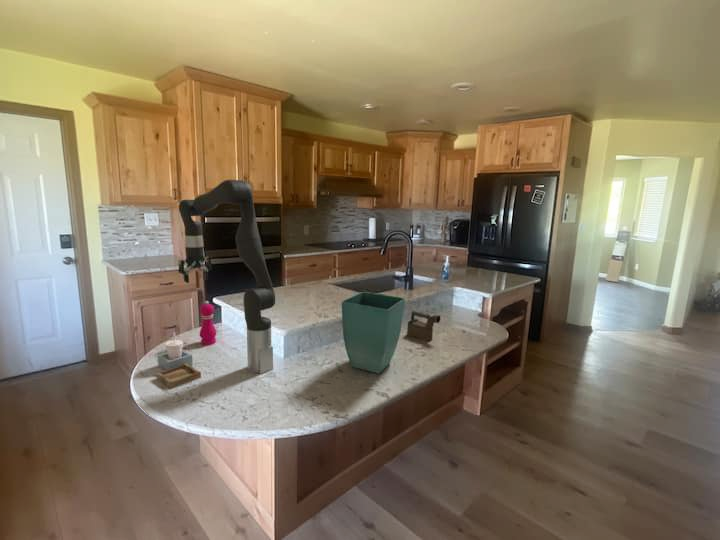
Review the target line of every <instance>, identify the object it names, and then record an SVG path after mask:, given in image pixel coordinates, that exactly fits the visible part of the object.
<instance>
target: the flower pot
mask: <svg viewBox="0 0 720 540" xmlns="http://www.w3.org/2000/svg"><path fill="white" fill-rule="evenodd" d="M405 302H406V298H405V297H400V296H394V295H387V294H380V293H377V292H376V293H374V292H368V291H361V292H358V293H357V294H355V295H352V296H350V297H347V298H346V299H344V300H342V301H341V320H342V336H343V342H344V347H345V351H346V354H347V358H348V360H349V362H350V365H351V367H353V368H356V369H360V370H364V371H367V372H370V373H371V372H372V373H375V374H380V373H381V372H382V371H383V370H384V369H386V367H387V366H388V365H389V364H390V363H391V361H392V358H393V356H394V353H395V352H396V349H397V346H398V342H399V339H400V336H401V335H400V333H401V330H402V324H403V323H402V322H403V316H404V307H405Z"/></svg>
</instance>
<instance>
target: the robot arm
mask: <svg viewBox="0 0 720 540" xmlns="http://www.w3.org/2000/svg"><path fill="white" fill-rule="evenodd" d="M222 204H227V205H228V204H229V205H239V208H240V223H239V224H238V228H237V231H236V234H235V246H236V249H237V254H238V257H239V258H240V259H241V261H242V262H243V264H244V265H245V266H246V267H247V268H248V269H249V270H250V272H251V273H252V274H253V276H254V279H255V281H256V285H257V286H256V287H252V288H248V289H246V290H245V292H244V294H243V309H244V310H243V311H244V313H243V314H244V320H245V324H246V348H247V349H246V350H247V351H246V353H247V370H248V371H249V372H250V373H253V374H261V375H262V374H264V373H266V372H269V371H271V370H273V369H274V347H273V346H272V320H271V319H270V318H269V317H266V316H262V311H264V310H268V309H272V308H273V307H274V306H275V304H276V294H275V290H274V286H273V283H272V281H271V277H270V274H269V271H268V267H267V263H266V259H265V255H264V251H263V244H262V241H261V237H260V233H259V228H258V223H257V217H256V211H255V203H254V194H253V190H252V187H251V185H250V183H249V182H248V181H246V180H241V179H226V180H223V181H222V182H221V183H219V184H218V185H216V186H215V187H214V188H212V189H211V190H210V191H208V192H206V193H204V194H201V195H198V196H196V197H195V198H194V199H182V200H181V201H180V202H179V204H178V211H179V214H180V217H181V220H182V223H183V226H184V249H185V250H184V251H185V259H179V260H178V273H179V274H182V275H183V281H184V282H185V283H187V284H188V283H190V278H189V276H190V275H189V273H190V271H192V270H194V269H199V268H201V270H202V277H203V278H202V279H203V280H204V281H207V280H208V278H209V271H212V270H213V267H212V258H211V256H205V257H204V255H205V247H204V246H205V245H204V237H203V224H202V223H201V222H199V221H196V220H195V221H194V219H193V217H200V216H204V215H205V214H207V212H210V211H214V210H216V209H217V208H218V206H219V205H222ZM204 262H205V264H204Z"/></svg>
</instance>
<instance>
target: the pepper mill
mask: <svg viewBox="0 0 720 540" xmlns="http://www.w3.org/2000/svg"><path fill="white" fill-rule="evenodd" d="M199 312H200V314H201V319H202V325H201V328H200V330H199V337H200V338H201V340H200V344H201V345H203V346H211V345H214V344H215V343H217V339H216V336H217V334H218V333H217V330H216V327H215V326H214V322H213V318H214V314H213V313H215V307H214V305H212V304H211V303H210V301H208V300H205V301H204V304H202V305H201V306H200V308H199Z"/></svg>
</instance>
